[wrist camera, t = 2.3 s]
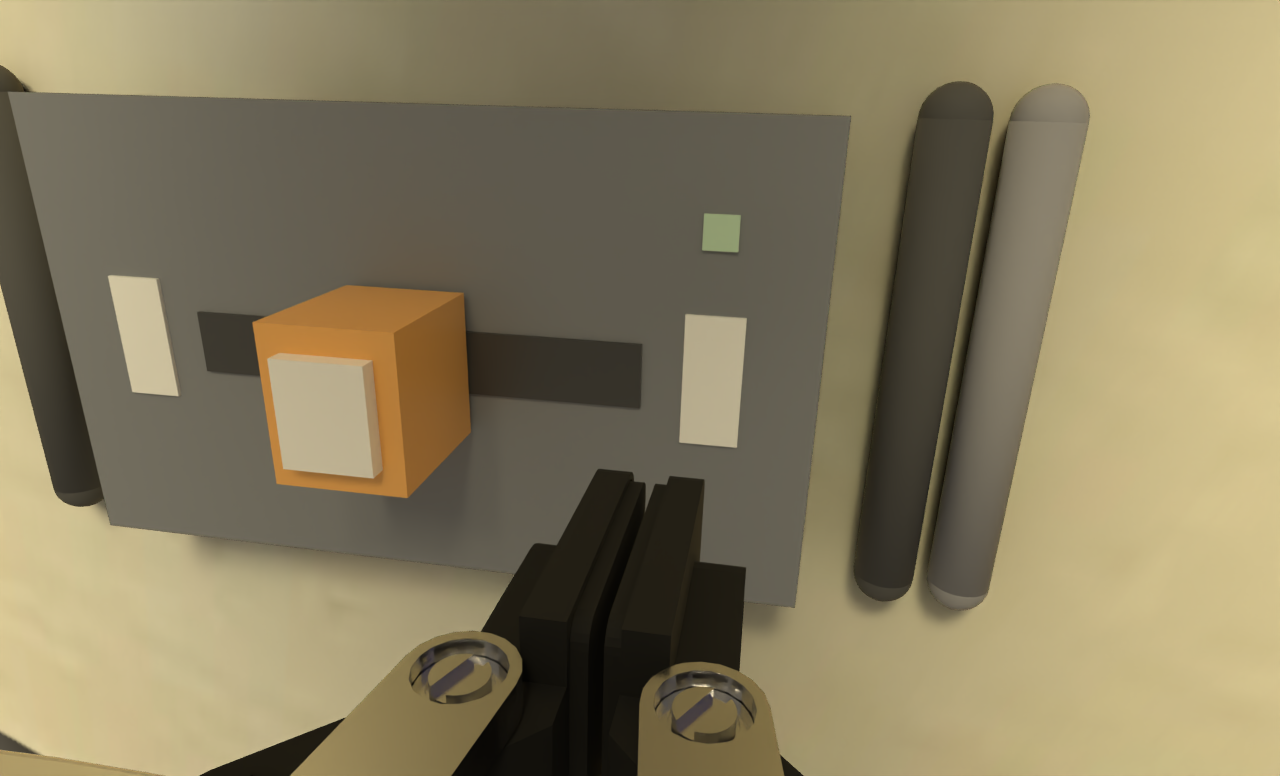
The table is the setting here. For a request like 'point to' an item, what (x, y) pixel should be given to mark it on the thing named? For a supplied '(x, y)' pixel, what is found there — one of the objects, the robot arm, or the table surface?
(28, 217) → the dark grey rounded rod
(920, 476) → the grey capsule
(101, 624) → the table surface
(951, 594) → the light grey rod
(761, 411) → the slider switch box
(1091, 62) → the table surface
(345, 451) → the block
